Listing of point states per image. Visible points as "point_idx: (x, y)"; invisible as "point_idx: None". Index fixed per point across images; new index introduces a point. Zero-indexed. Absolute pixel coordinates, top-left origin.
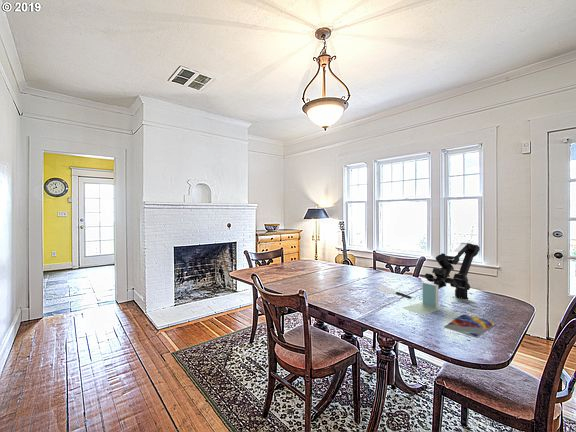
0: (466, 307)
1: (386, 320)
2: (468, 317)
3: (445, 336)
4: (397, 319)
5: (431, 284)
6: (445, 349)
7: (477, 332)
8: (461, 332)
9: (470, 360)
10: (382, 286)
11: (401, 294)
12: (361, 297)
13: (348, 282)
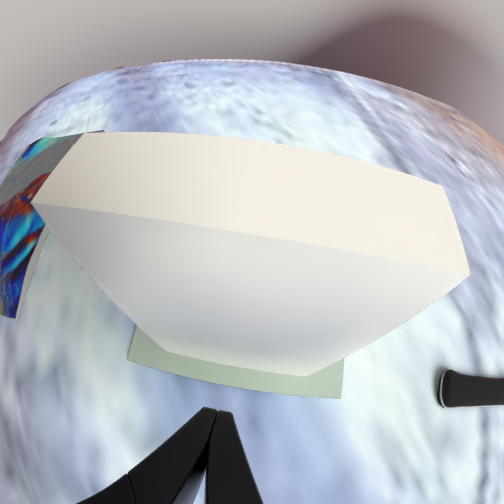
0: (41, 494)
1: (279, 83)
2: (4, 286)
3: (102, 101)
4: (261, 95)
5: (185, 134)
6: (107, 77)
7: (17, 169)
8: (58, 138)
9: (72, 83)
10: None
11: (498, 381)
12: (497, 201)
13: None
